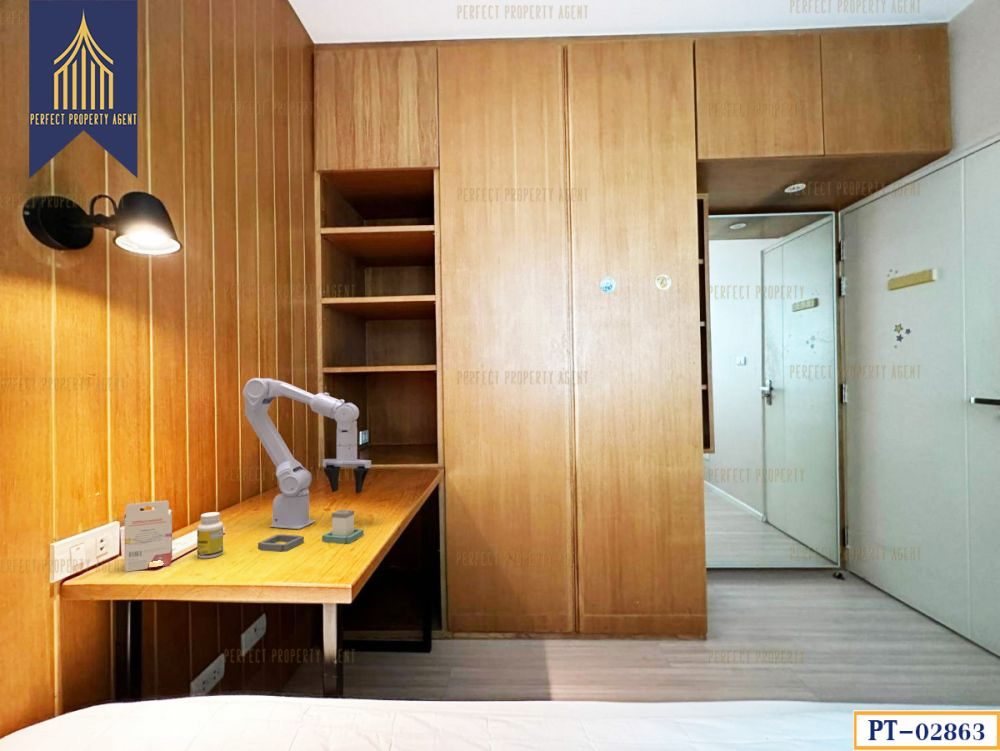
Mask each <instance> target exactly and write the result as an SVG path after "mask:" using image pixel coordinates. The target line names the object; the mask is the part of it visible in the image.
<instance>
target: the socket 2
mask: <svg viewBox="0 0 1000 751" xmlns="http://www.w3.org/2000/svg"><path fill="white" fill-rule="evenodd" d="M364 532H365V530H364V529H361V528H354V533H353V534H351V535H350V536H348V537H344V536H332V530H330V531H327V532H326V533H324V534H322V536H321V541H322V542H324V543H329V542H336V543H335V544H342V543H346V544H352V543H353V542H355V541H356V539H357V538H358V539H360V538H361V536H362V535H363V536H364ZM363 536H362V537H363ZM359 537H360V538H359ZM358 539H357V540H358ZM354 540H355V541H354ZM352 541H353V542H352ZM351 542H352V543H351Z"/></svg>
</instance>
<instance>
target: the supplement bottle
mask: <svg viewBox="0 0 1000 751" xmlns="http://www.w3.org/2000/svg"><path fill="white" fill-rule="evenodd" d="M220 519H221V514H220V512H218V511H212V512H209V511H208V512H205V513H202V514H201V515H200V522H201V523H199V524H198V525H197V529H196V532H197V533H196V536H197V540H196V541H197V543H196V548H197V549H196V550H197V551H196V552H197V553H196V554H197V555H196V556H197V557H198V558H200V559H211V558H216V557H219V556H220V555H222V554H223V553H224V524H223V522H222V521H221V520H220Z"/></svg>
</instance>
